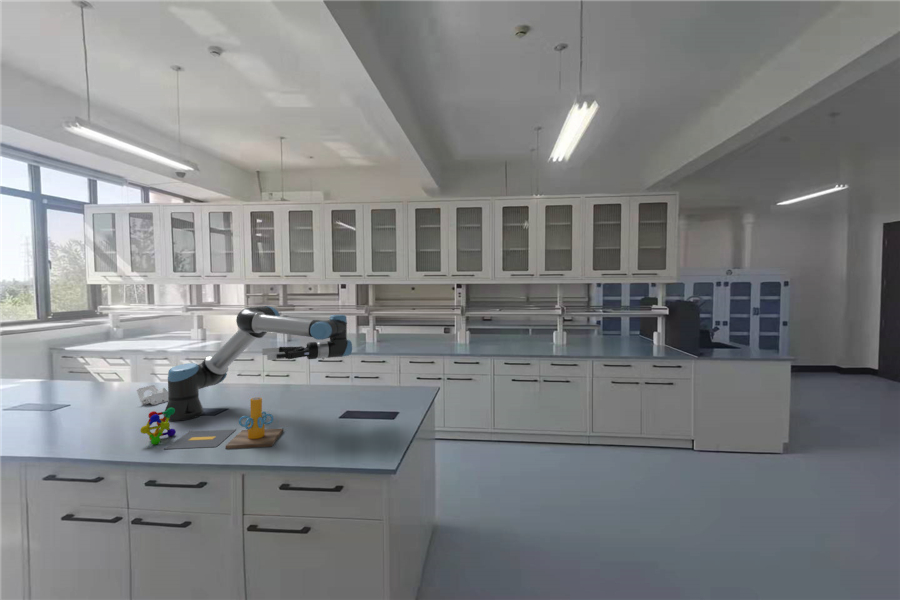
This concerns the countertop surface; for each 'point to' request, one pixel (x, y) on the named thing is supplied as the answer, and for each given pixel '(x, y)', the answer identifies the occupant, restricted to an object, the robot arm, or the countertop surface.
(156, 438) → the molecular model
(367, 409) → the countertop surface
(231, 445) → the board
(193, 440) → the mat
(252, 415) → the cylinder
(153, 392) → the mounting bracket
